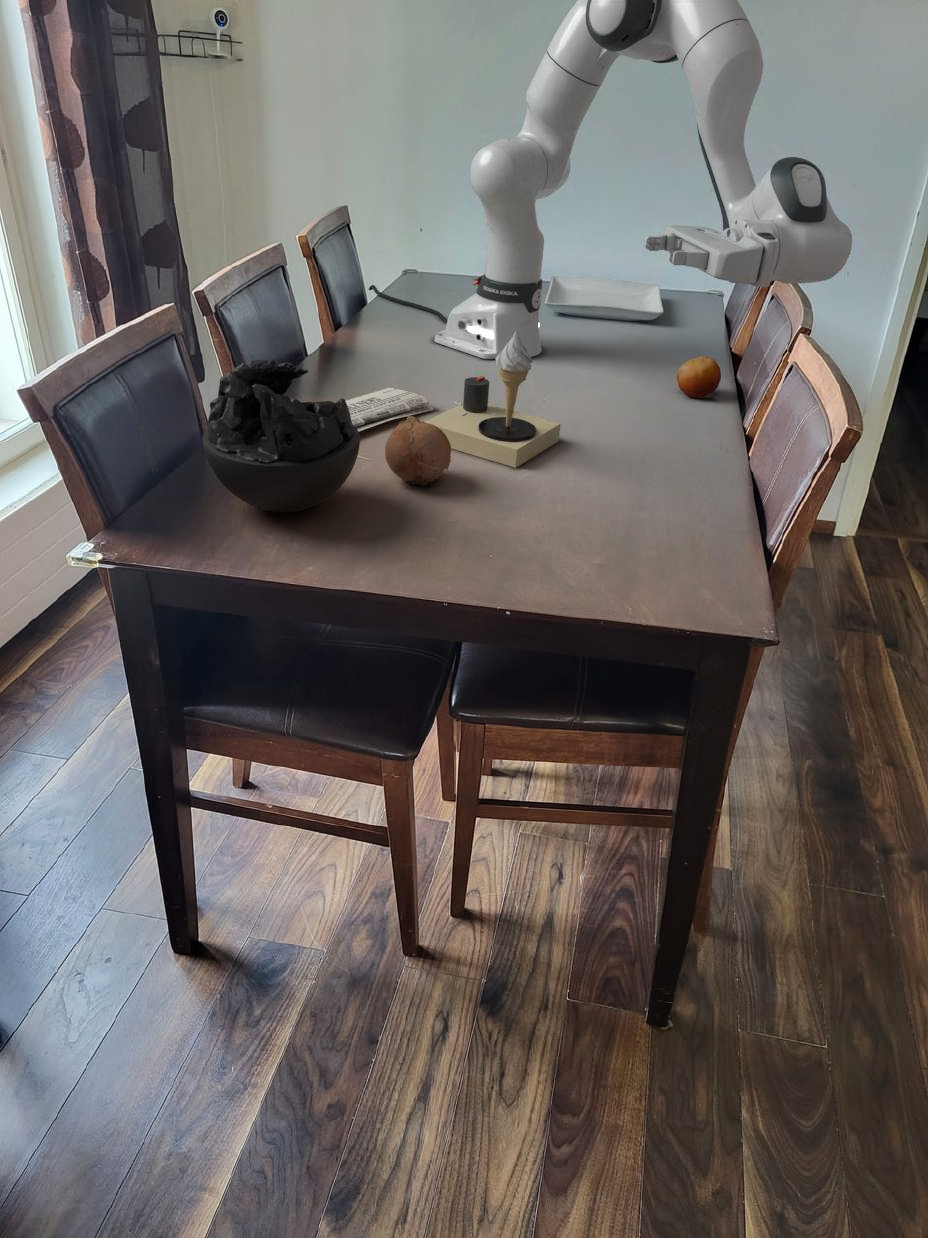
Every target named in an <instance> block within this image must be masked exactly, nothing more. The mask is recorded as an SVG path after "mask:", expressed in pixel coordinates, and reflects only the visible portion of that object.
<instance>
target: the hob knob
mask: <svg viewBox="0 0 928 1238" xmlns="http://www.w3.org/2000/svg"><path fill="white" fill-rule="evenodd" d="M463 386H464V387H463V403H462V404H463V409H464V410H466V411H468V412H473V413H481V412H485V411H487V409H488V404H489V403H488V402H489V395H490V393H489V392H490V380H488V379H487V378H485V376H483V375H481V376H479V377H478V376H472V377H471V376H470V377H466V378H465V379H464V385H463Z"/></svg>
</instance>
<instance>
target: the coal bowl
mask: <svg viewBox="0 0 928 1238" xmlns="http://www.w3.org/2000/svg"><path fill="white" fill-rule="evenodd" d="M308 373H309V370H308V369H305V368H302V367H298V366H295V365H294V364H293V363H291V362H288V361H286V362H282V363H276V361H275V359H272V358H271V359H262V360H261V359H254V360H251V362H250V364H249V365H247V364H246V363H245V362H244V361H243V362H241V363H240V364H239V365H237V366H236V367H234V368H233V370H232V371H228V372H227V373H225V374H224V375H222V376H221V377H220V379H219V385H218V391H217V397H216V398H213V400H211V401H210V402H209V408H210V411H209V415H208V419H207V424H206V425H207V426H206V429H205V430H204V431H203V434H202V439H201V440H202V446H203V451H204V454H205V457H206V459H207V462H208V464H209V466H210V468H211V469H212V471H213V473H214V475H215V476H216V478H217V479H218V480H219V482H220V483H221V484H222V485H223V486H224V487H225V488H226V489H227V490H228V491H229V492H230V493H231V494H232V495H234V496H235V497H236V498H237V499H239V500H241V501H242V502H244V503H246V504H248V505H250V506H252V507H255V508H257V509H260V510H264V511H269V512H275V513H294V512H300V511H304V510H308V509H310V508H313V507H315V506H318V505H319V504H321V503H323V502H325V501H326V500H328V499H329V498H331V497H332V496H333V495H334V494H335V493H337V492H338V491H339V489H341V487H342V486H344V484H345V482H346V481H347V480H348V479H349V476H350V475H351V474H352V471H353V469H354V467H355V465H356V462H357V458H358V455H359V450H360V445H361V435H360V431H358V430H357V428H356V427H355V426H354V425H353V424H352V421H351V416H350V412H349V409H348V406H347V403H346V401H345V400H346V399H345V398H344V397H342V398H339V399H338V400H337V401H336V402H334V401H331V400H323V401H322V400H321V401H300V400H298V399H297V398H290V396H288V395H285V394H286V393H287V392H288V390H289V389H290V388H291V386H292V384H293V382H294V380H295V379H300V378H301V377H302V376H304V375H306V374H308Z"/></svg>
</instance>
